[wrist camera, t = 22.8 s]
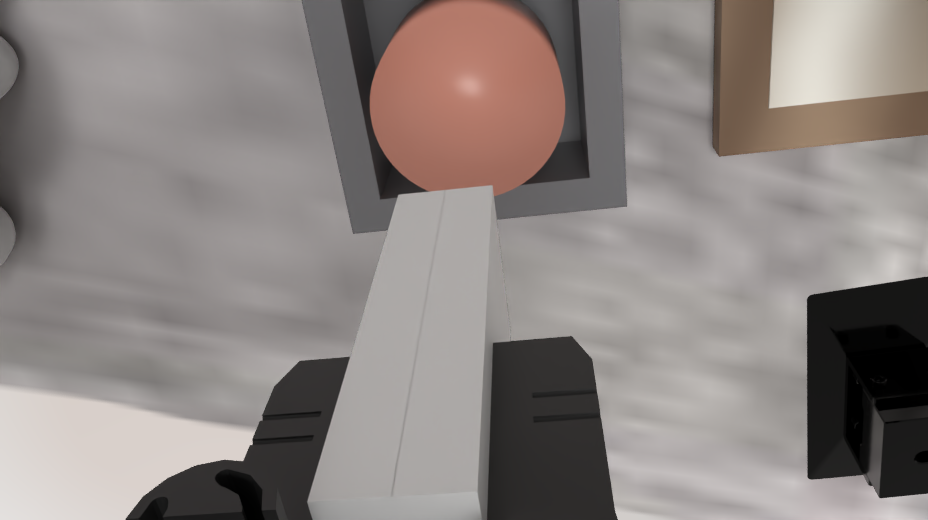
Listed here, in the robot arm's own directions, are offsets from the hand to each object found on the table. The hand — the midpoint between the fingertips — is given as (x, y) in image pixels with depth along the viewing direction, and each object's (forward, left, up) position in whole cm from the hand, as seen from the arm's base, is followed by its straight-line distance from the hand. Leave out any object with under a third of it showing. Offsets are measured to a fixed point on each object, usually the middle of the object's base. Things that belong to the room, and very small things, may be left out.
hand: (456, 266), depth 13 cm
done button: (0, 0, -11) cm, 11 cm away
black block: (+14, -15, -15) cm, 26 cm away
